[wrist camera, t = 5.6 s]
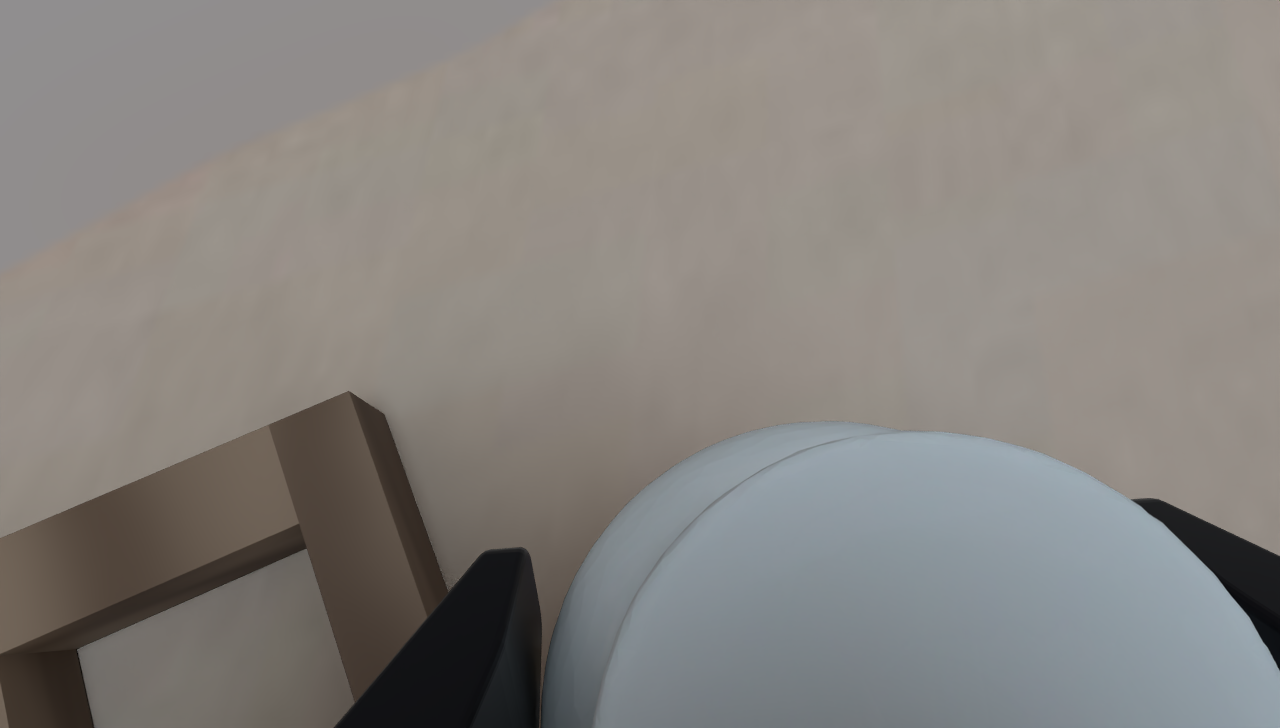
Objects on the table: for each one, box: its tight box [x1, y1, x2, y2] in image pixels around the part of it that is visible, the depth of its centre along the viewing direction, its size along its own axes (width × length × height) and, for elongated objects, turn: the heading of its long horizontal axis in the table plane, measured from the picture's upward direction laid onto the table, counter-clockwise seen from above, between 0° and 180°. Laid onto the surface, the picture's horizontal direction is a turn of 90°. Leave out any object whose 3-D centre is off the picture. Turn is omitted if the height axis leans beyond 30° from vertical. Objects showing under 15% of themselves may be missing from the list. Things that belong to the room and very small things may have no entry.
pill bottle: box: [541, 421, 1280, 728], centre depth 9 cm, size 5×5×10 cm
